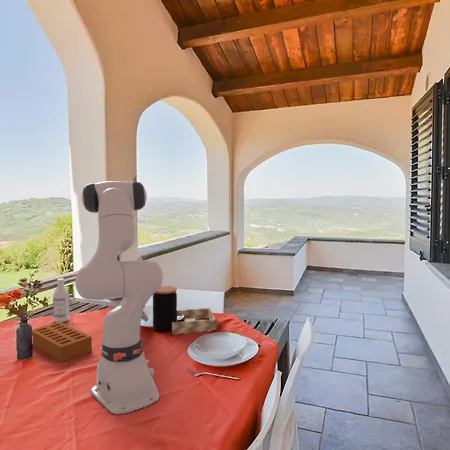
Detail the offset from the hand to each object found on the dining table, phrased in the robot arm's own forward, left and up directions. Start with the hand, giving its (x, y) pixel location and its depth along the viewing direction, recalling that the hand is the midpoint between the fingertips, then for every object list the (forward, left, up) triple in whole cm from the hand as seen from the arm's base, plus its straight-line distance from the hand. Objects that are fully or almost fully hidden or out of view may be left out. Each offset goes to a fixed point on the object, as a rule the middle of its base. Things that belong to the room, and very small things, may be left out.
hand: (147, 319), depth 153 cm
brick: (0, +35, -5) cm, 36 cm away
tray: (-7, -19, -4) cm, 20 cm away
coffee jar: (-3, -7, -5) cm, 9 cm away
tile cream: (-4, -20, -5) cm, 21 cm away
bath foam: (+32, +30, -5) cm, 45 cm away
